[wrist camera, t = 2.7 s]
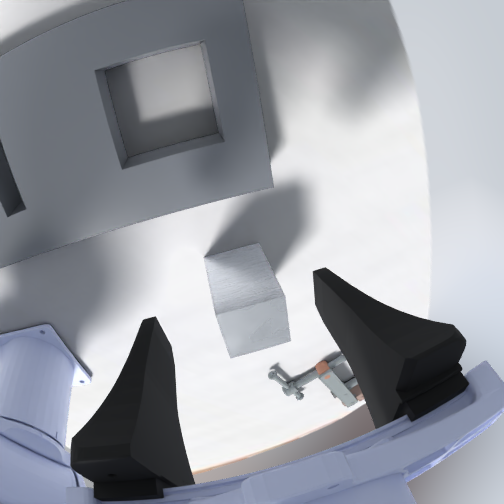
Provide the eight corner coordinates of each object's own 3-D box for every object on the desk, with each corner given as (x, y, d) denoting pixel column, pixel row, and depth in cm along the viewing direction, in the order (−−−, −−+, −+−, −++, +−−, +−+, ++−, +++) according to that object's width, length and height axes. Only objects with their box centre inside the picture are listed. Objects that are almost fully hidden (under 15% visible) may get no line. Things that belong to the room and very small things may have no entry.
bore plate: (-2, 254, 18) (-15, 273, 16) (-58, 106, 11) (-78, 114, 9) (262, 173, 20) (273, 187, 18) (229, -11, 14) (238, -22, 11)
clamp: (387, 385, 37) (321, 423, 38) (379, 373, 39) (316, 410, 40) (358, 332, 29) (268, 385, 30) (348, 317, 30) (262, 368, 32)
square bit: (216, 299, 25) (230, 358, 20) (203, 257, 23) (215, 315, 18) (266, 285, 25) (290, 340, 20) (258, 242, 23) (285, 295, 18)
